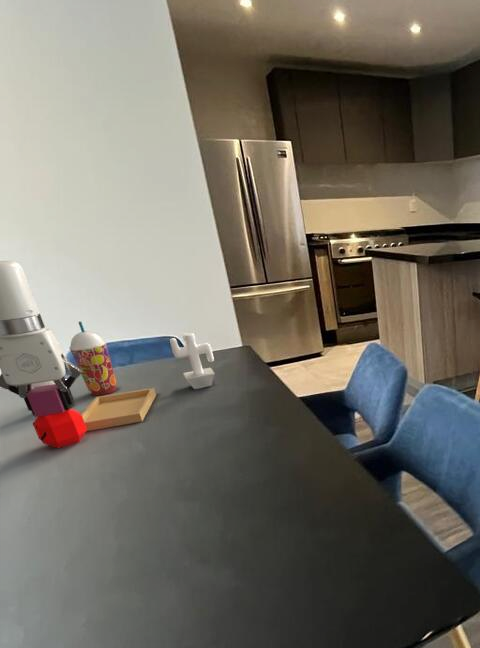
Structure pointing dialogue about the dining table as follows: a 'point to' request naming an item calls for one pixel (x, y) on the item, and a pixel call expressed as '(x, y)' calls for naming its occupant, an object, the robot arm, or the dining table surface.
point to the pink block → (45, 400)
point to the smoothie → (93, 362)
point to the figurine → (195, 360)
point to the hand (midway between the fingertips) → (53, 409)
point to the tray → (118, 409)
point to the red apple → (60, 428)
